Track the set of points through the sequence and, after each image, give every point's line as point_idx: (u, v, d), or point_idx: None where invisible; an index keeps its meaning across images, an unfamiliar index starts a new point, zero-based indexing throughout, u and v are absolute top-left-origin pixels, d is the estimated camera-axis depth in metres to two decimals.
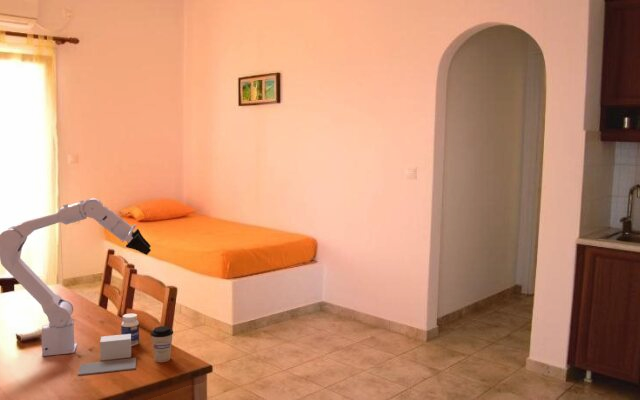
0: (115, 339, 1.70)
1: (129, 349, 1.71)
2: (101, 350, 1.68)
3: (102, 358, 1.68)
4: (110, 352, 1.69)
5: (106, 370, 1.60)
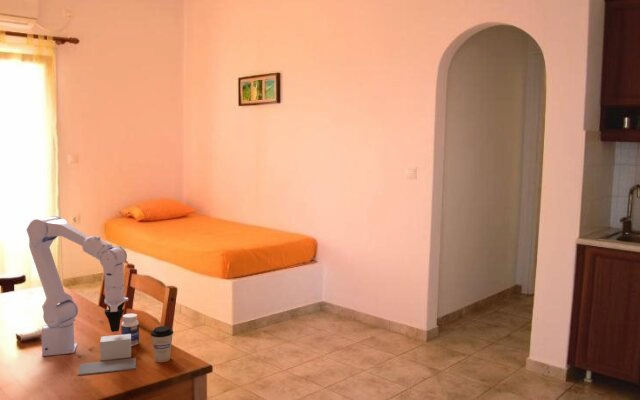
0: (115, 339, 1.70)
1: (129, 349, 1.71)
2: (101, 350, 1.68)
3: (102, 358, 1.68)
4: (110, 352, 1.69)
5: (106, 370, 1.60)
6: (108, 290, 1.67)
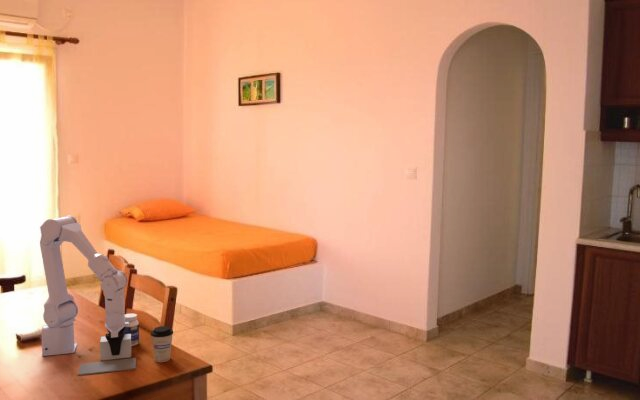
0: None
1: (129, 349, 1.71)
2: (101, 350, 1.68)
3: (102, 358, 1.68)
4: (110, 352, 1.69)
5: (106, 370, 1.60)
6: (109, 315, 1.68)
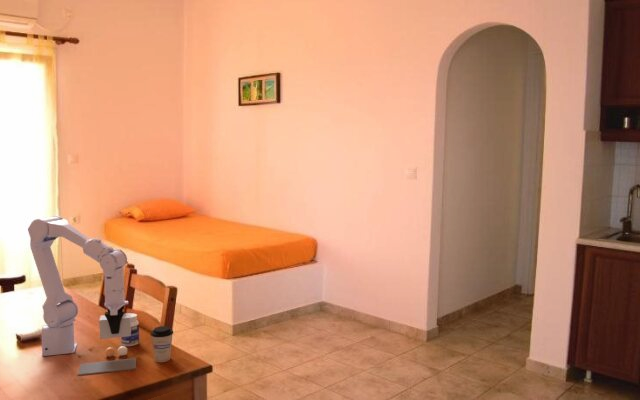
0: None
1: (129, 328, 1.70)
2: (100, 328, 1.67)
3: (101, 337, 1.68)
4: (109, 330, 1.68)
5: (106, 370, 1.60)
6: (108, 293, 1.67)
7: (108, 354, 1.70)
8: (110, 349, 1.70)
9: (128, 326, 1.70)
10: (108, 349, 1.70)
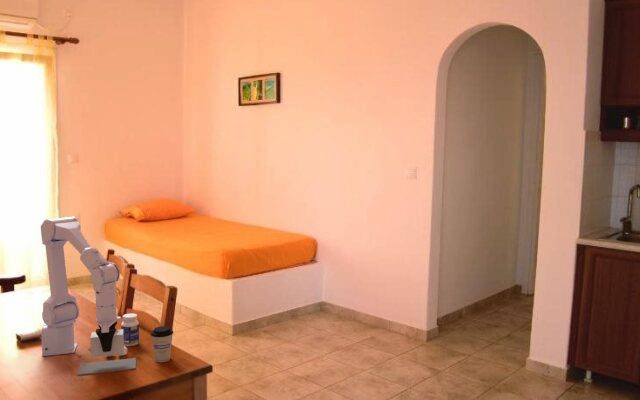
0: None
1: (121, 345, 1.61)
2: (91, 346, 1.59)
3: (93, 355, 1.59)
4: (101, 348, 1.60)
5: (106, 370, 1.60)
6: (99, 309, 1.59)
7: None
8: None
9: (121, 343, 1.61)
10: None
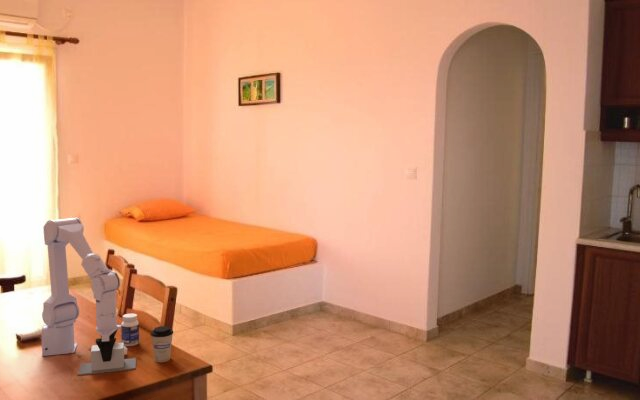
0: None
1: (121, 359, 1.62)
2: (92, 360, 1.59)
3: (93, 368, 1.60)
4: (101, 361, 1.60)
5: (106, 370, 1.60)
6: (100, 318, 1.59)
7: None
8: None
9: (121, 357, 1.62)
10: None
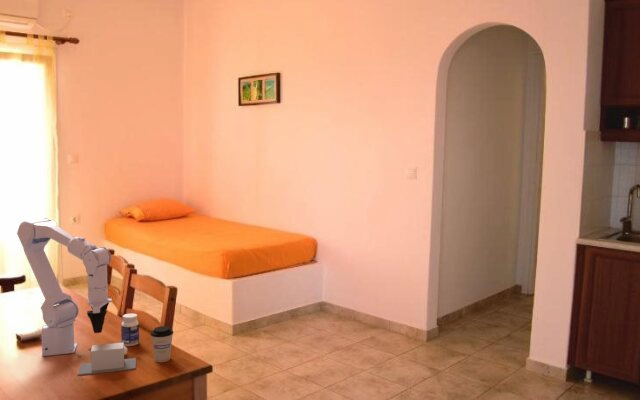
0: (107, 348, 1.61)
1: (121, 359, 1.62)
2: (92, 360, 1.59)
3: (93, 368, 1.60)
4: (101, 361, 1.60)
5: (106, 370, 1.60)
6: (91, 291, 1.66)
7: None
8: None
9: (121, 357, 1.62)
10: None
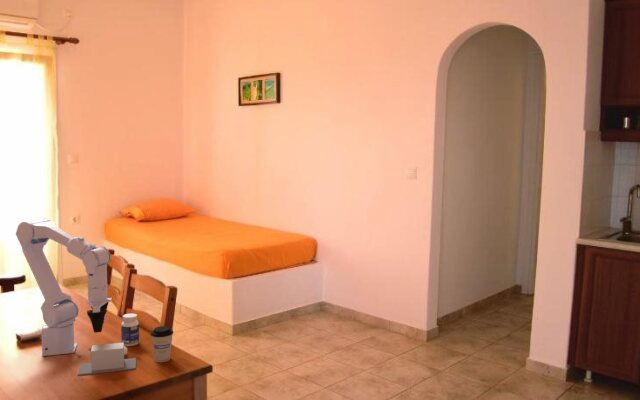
0: (107, 348, 1.61)
1: (121, 359, 1.62)
2: (92, 360, 1.59)
3: (93, 368, 1.60)
4: (101, 361, 1.60)
5: (106, 370, 1.60)
6: (91, 291, 1.66)
7: None
8: None
9: (121, 357, 1.62)
10: None
